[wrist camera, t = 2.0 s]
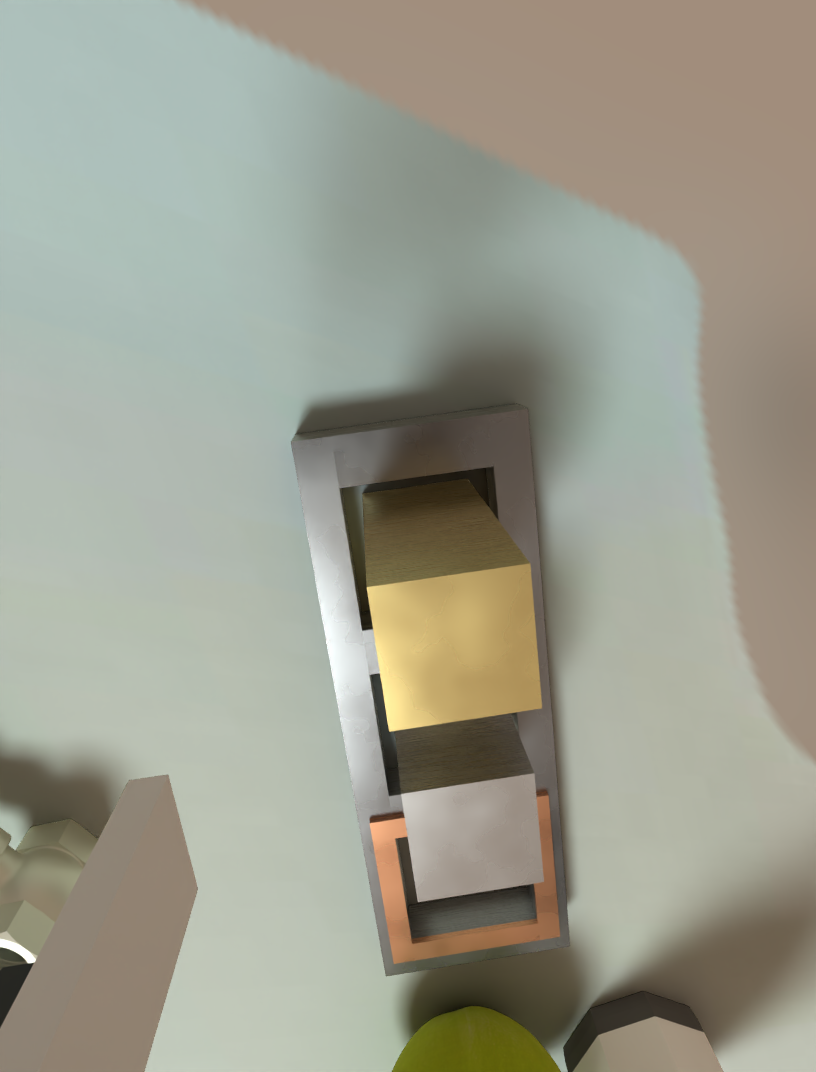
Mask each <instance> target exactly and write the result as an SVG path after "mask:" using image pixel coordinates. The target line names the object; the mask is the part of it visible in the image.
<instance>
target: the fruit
mask: <svg viewBox="0 0 816 1072" xmlns="http://www.w3.org/2000/svg"><path fill="white" fill-rule="evenodd" d="M392 1072H561V1071H560V1069H559V1068H558V1066H557V1064H556V1063H555V1061H554V1060H553V1059H552V1057H551V1056H550V1055H549V1053H548V1052H547V1051H546V1050H545V1048H544V1047H543V1046H542V1045H541V1044H540V1042H539V1041H538V1040H537V1039H536V1038H535V1037H534V1036H533V1035H532V1034H531V1033H530V1032H529V1031H528V1030H526V1029H525V1028H524V1027H523V1026H522V1025H520V1024H519V1023H517V1022H516V1021H514V1020H513V1019H511V1018H509V1017H508V1016H506V1015H503V1014H501V1013H499V1012H497V1011H495V1010H492V1009H489V1008H485V1007H480V1006H469V1007H465V1008H462V1009H459V1010H456V1011H453V1012H449V1013H445V1014H441V1015H439V1016H436V1017H434V1018H432V1019H431V1020H429V1021H428V1022H427V1023H425V1024H424V1025H423V1026H422V1027H421V1028H420V1029H419V1030H418V1031H417V1032H416V1033H415V1034H414V1035H413V1036H412V1038H411V1039H410V1040H409V1042H408V1043H407V1045H406V1046H405V1048H404V1049H403V1051H402V1053H401V1054H400V1056H399V1058H398V1060H397V1062H396V1064H395V1066H394V1068H393V1070H392Z"/></svg>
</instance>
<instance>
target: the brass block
mask: <svg viewBox="0 0 816 1072" xmlns="http://www.w3.org/2000/svg"><path fill="white" fill-rule="evenodd" d="M362 495H363V517H364V540H365V562H366V584H367V593H368V599H369V606H370V612H371V618H372V625H373V631H374V638H375V644H376V651H377V657H378V663H379V670H380V676H381V683H382V689H383V695H384V702H385V708H386V715H387V721H388V728H389V732H391V731H397V730H404V729H410V728H417V727H423V726H430V725H436V724H443V723H450V722H456V721H463V720H469V719H476V718H482V717H489V716H495V715H502V714H508V713H515V712H521V711H528V710H534V709H541V708H542V699H541V687H540V675H539V663H538V651H537V639H536V626H535V614H534V602H533V590H532V578H531V566H530V562H529V561H528V560H527V558H526V557H525V556H524V554H523V553H522V552H521V550H520V549H519V547H518V546H517V545H516V543H515V542H514V541H513V539H512V538H511V537H510V535H509V534H508V533H507V531H506V530H505V529H504V527H503V526H502V525H501V523H500V522H499V521H498V519H497V518H496V516H495V515H494V514H493V512H492V511H491V510H490V508H489V507H488V506H487V504H486V503H485V502H484V500H483V499H482V498H481V496H480V495H479V494H478V492H477V491H476V489H475V488H474V487H473V485H472V484H471V483H470V481H469V480H468V479H461V480H454V481H447V482H440V483H433V484H426V485H419V486H412V487H405V488H398V489H391V490H383V491H376V492H369V493H362Z"/></svg>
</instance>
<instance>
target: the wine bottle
mask: <svg viewBox="0 0 816 1072" xmlns="http://www.w3.org/2000/svg"><path fill="white" fill-rule="evenodd" d="M563 1049H564V1056H565V1062H566V1066H567V1070H568V1072H723V1070H722V1068H721V1066H720V1064H719V1062H718V1060H717V1058H716V1056H715V1054H714V1052H713V1050H712V1048H711V1045H710V1043H709V1041H708V1039H707V1037H706V1035H705V1033H704V1031H703V1029H702V1027H701V1026H700V1024H699V1022H698V1020H697V1018H696V1017H695V1015H694V1013H693V1012H692V1010H691V1009H690V1007H689V1006H686V1005H683V1004H680V1003H677V1002H674V1001H671V1000H668V999H665V998H662V997H659V996H656V995H653V994H650V993H647V992H644V991H642V992H639V993H636V994H633V995H630V996H627V997H624V998H621V999H618V1000H615V1001H612V1002H609V1003H606V1004H603V1005H600V1006H597V1007H594V1008H591V1009H590V1010H589V1011H588V1013H587V1014H586V1016H585V1017H584V1019H583V1020H582V1021H581V1023H580V1024H579V1026H578V1027H577V1029H576V1030H575V1032H574V1033H573V1035H572V1036H571V1038H570V1039H569V1040H568V1042H567V1043H566V1045H565V1046H564V1048H563Z"/></svg>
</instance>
